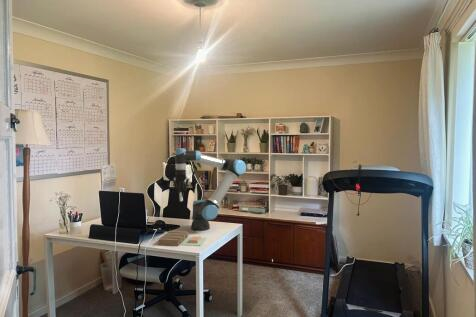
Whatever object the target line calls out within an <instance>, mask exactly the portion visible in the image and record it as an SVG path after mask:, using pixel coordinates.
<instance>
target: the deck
mask: <svg viewBox="0 0 476 317" xmlns="http://www.w3.org/2000/svg"><path fill="white" fill-rule="evenodd" d="M188 232H189V231H188V230H187V231H184V230H183V231H182V230H169V231H167V232H165V234H163V235H162V236H161V237H160V238H158V246H168V247H169V246H171V247H179V246H181V244H182V243H183V242H184V241H185V240H186V239H187V238H188V237H189V233H188Z"/></svg>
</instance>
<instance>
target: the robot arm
mask: <svg viewBox="0 0 476 317" xmlns="http://www.w3.org/2000/svg"><path fill="white" fill-rule="evenodd" d="M174 152H175V153H174V157H175V158H174V160H175V163H174V164H175V176H174V177H173V178H172V182H173V185H174V189H175V193H176V192H177V193H178V198H179V202H183V201H184V198H183V197H185V193H186V192H187V191H188V190H187V189H188V185H189V182H190V178H188V177H187V168H186V167H187V162H194V163H197V164H203V165H207V166H210V167H214V168H216V169H218V170H222V171H224V172H225V174H224V175H223V177H222V179H221V181H220V182H219V183H218V185H217V186H216V188H215V190H214V191H213V193H212V194H211V196H210V197H209V198H206V199H197V200H193V201H192V221H191V225H190V229H191V230H192V231H207V230H209V229H211V224H210V222H209V221H212V220H214V219H216V218H217V216H218V215H219V208H220V204H221V201H223V198H224V197H225V195H226V194H227V192H229V189H230V188H231V186H232V184H233V183H234V182H235V180H238V179H239V177H240V176H241V175H243V174H245V172H246V170H247V166H246V163H245V161H243V160H242V159H234V158H224V157H221V158H219V157H215V156H211V155H207V154H203V153H202V152H201V150H190V149H189V150H187V149H186V148H183V147H182V148H175V151H174Z"/></svg>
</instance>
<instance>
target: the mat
mask: <svg viewBox="0 0 476 317" xmlns="http://www.w3.org/2000/svg"><path fill="white" fill-rule="evenodd" d="M192 237H193V236H188V237H187V238H186V239H185V240H184V241H183V242H182V243H181V244H180V246H189V247H190V246H192V247H193V246H196V247H201V246H203V244H204V243H205V242H206V240H207V239H208V237H201V240H200V241H199V242H198V243H189V240H190V239H191V238H192Z"/></svg>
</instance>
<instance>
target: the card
mask: <svg viewBox="0 0 476 317" xmlns="http://www.w3.org/2000/svg"><path fill="white" fill-rule="evenodd" d="M191 237H192V238H191V239H190V240H189V243H198V242H199V241H200V240H201V238H202V236H195V235H194V236H191Z"/></svg>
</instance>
